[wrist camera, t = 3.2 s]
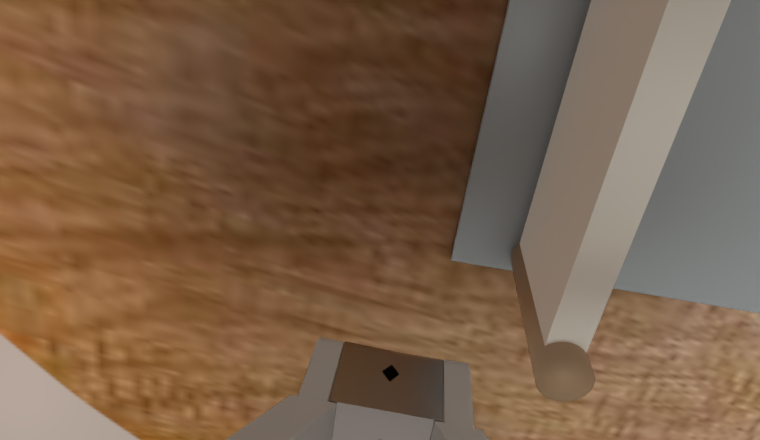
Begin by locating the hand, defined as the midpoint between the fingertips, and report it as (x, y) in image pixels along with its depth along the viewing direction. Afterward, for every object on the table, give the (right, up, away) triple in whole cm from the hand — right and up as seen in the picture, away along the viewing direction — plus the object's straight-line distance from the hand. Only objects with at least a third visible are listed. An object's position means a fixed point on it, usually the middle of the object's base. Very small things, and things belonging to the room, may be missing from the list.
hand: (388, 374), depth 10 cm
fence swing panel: (+6, +6, +8) cm, 12 cm away
